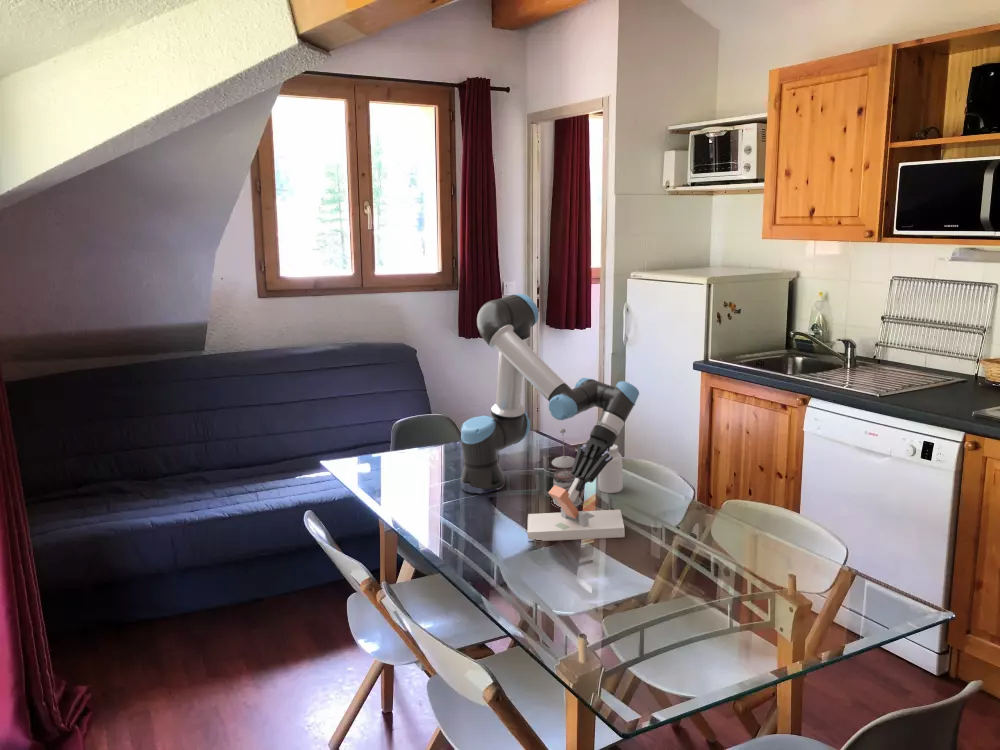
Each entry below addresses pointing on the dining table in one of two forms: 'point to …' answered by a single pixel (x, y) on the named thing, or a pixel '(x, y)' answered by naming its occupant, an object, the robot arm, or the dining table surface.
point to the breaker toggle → (564, 502)
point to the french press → (564, 473)
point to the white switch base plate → (576, 525)
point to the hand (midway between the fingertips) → (569, 499)
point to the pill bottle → (612, 473)
